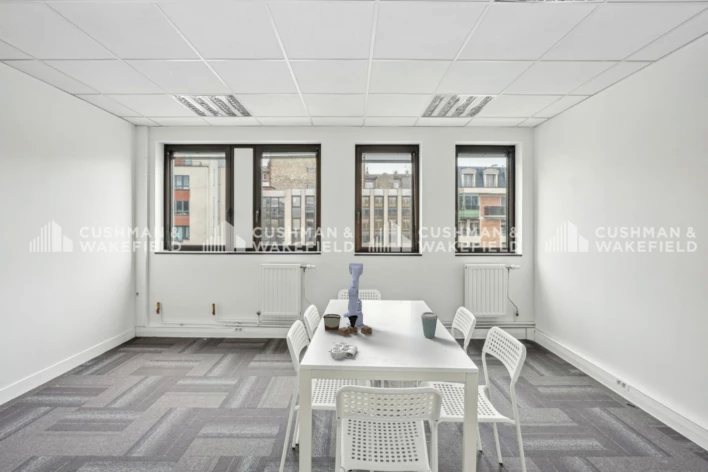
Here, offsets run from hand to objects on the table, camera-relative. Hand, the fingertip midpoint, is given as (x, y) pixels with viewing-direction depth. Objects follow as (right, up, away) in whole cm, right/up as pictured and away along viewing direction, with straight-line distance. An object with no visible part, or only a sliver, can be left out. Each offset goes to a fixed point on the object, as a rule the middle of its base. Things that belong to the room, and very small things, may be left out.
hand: (352, 326), depth 223 cm
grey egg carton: (-6, -5, -36) cm, 37 cm away
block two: (-5, -4, -4) cm, 8 cm away
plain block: (0, -4, 0) cm, 4 cm away
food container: (-14, -4, +6) cm, 15 cm away
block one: (+9, -4, -1) cm, 10 cm away
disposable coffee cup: (+49, -5, -5) cm, 50 cm away
